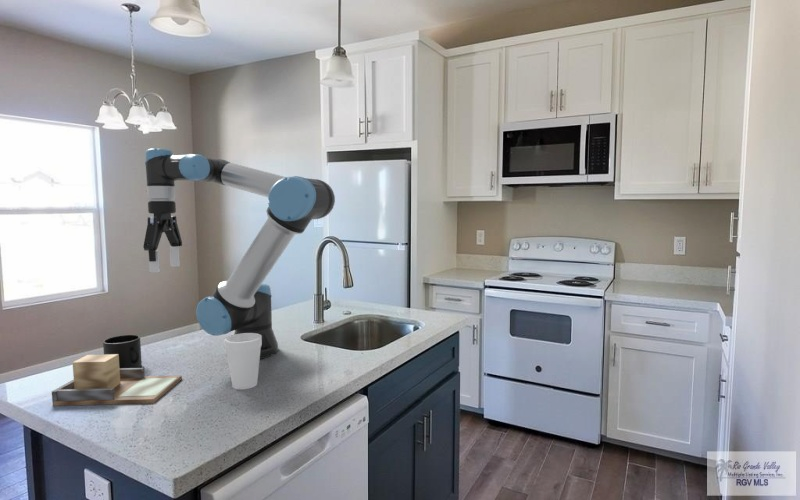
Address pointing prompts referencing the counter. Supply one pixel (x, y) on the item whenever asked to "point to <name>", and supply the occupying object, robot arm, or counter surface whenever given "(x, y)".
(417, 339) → the counter surface
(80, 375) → the oak block
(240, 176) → the robot arm
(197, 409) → the counter surface
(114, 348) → the mug
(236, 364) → the foam cup
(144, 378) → the slot board
